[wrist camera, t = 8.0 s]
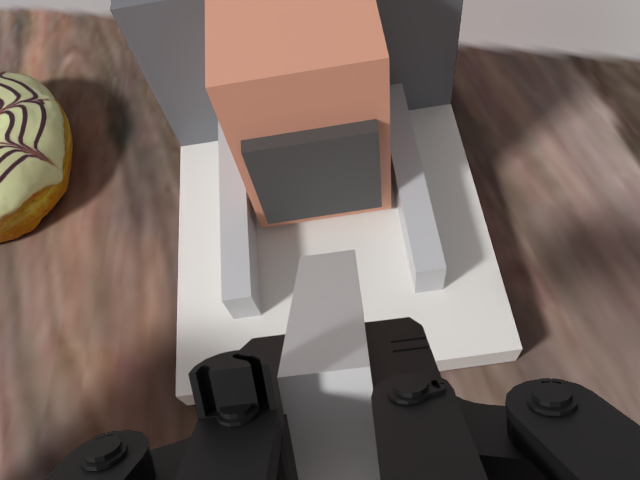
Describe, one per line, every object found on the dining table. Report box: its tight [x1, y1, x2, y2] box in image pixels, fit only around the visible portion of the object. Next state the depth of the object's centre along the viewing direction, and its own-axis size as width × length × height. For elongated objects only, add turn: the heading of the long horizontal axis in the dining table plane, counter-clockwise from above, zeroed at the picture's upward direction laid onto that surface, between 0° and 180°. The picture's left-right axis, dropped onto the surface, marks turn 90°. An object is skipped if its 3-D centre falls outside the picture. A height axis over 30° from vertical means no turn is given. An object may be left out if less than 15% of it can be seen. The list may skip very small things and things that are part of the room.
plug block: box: [205, 0, 391, 228], centre depth 23 cm, size 6×6×9 cm
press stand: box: [110, 0, 522, 405], centre depth 24 cm, size 14×16×10 cm
